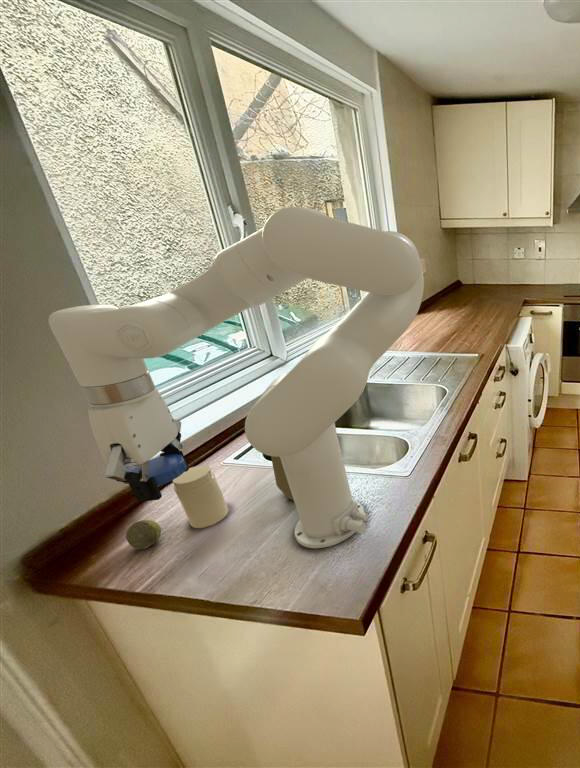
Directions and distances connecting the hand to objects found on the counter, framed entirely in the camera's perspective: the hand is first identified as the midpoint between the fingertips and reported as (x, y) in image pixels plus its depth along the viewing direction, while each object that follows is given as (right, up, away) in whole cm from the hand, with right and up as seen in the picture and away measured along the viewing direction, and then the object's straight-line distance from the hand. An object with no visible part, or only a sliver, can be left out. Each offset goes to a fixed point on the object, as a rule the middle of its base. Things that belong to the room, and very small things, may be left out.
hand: (165, 484), depth 66 cm
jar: (-3, -10, +14) cm, 18 cm away
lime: (-10, -13, +8) cm, 19 cm away
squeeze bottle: (+12, -7, +21) cm, 25 cm away
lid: (0, +3, -1) cm, 3 cm away
